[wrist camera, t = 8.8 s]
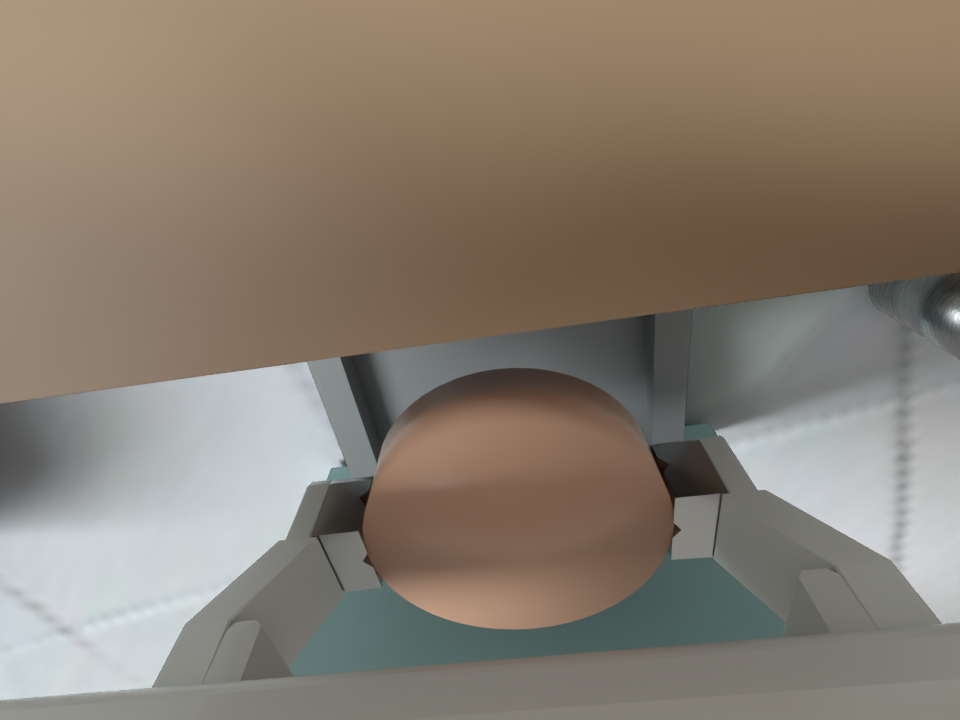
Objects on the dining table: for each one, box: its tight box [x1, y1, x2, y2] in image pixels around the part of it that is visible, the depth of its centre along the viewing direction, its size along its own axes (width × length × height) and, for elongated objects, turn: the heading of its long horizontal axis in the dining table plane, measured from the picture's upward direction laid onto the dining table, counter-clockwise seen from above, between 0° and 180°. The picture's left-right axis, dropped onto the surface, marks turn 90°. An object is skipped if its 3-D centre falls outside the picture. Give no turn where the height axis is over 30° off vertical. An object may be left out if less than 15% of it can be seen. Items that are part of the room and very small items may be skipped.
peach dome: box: [363, 368, 674, 630], centre depth 10 cm, size 6×6×2 cm
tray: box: [289, 309, 786, 676], centre depth 12 cm, size 13×15×10 cm
